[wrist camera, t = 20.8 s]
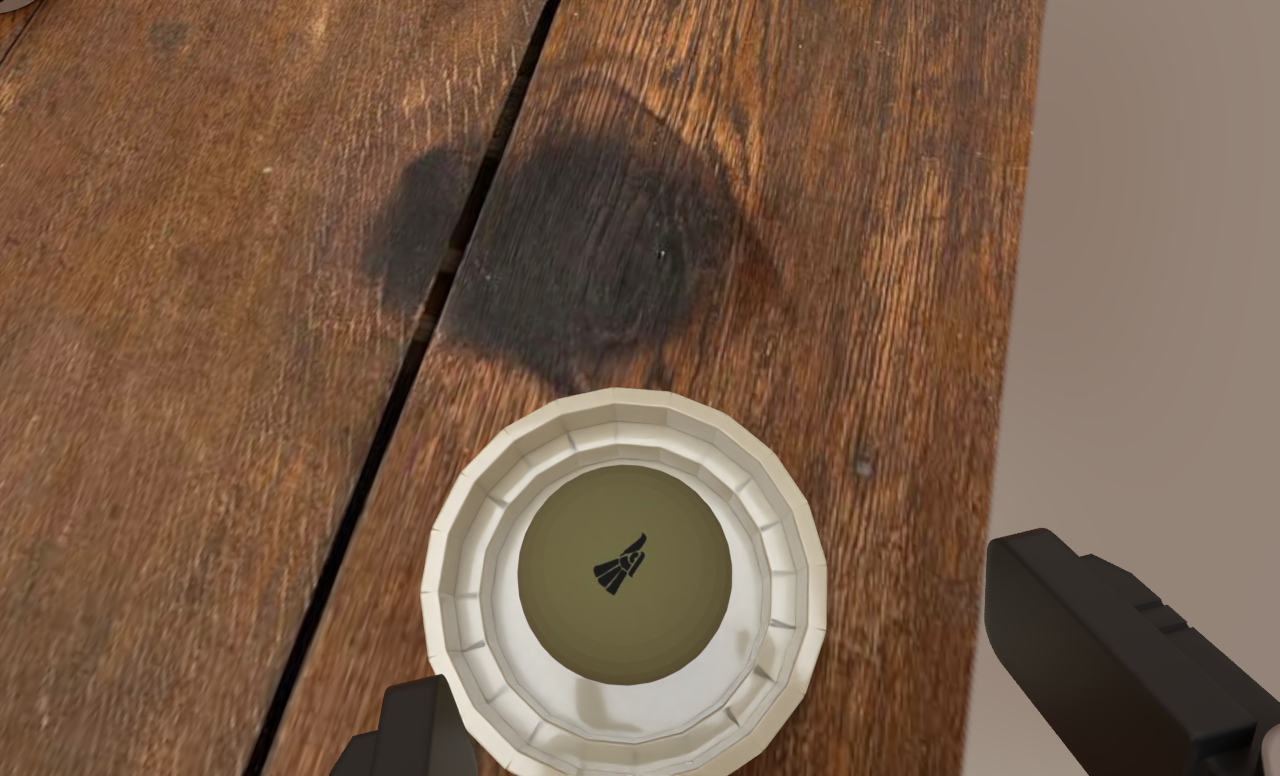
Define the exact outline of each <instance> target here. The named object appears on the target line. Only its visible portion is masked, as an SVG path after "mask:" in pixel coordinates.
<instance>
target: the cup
mask: <svg viewBox="0 0 1280 776" xmlns="http://www.w3.org/2000/svg"><path fill="white" fill-rule="evenodd" d="M33 1H34V0H0V13H4V12H9V11H13V10H16V9H19V8H21V7H23V6H26V5H28V4H29V3H31V2H33Z"/></svg>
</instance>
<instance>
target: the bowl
mask: <svg viewBox="0 0 1280 776" xmlns="http://www.w3.org/2000/svg"><path fill="white" fill-rule="evenodd" d="M614 465H638V466H645V467H649V468H653V469H656V470H660V471H663V472H665V473H667V474H669V475H671V476H673V477H676V478H678V479H680V480H681V481H682V482H684V483H685V484H686V485H688V486H689V487H690V488H692V489H693V490H695V491H696V492H697V493H698V494H699V495H700V496H701V498H702V499H703V500H704V501H705V502H706V503H707V504H708V505H709V506H710V508H711V509H712V511H713V513H714V514H715V516H716V517H717V519H718V521H719V522H720V524H721V526H722V529H723V532H724V534H725V537H726V539H727V542H728V545H729V550H730V556H731V561H732V590H731V595H730V600H729V604H728V608H727V612H726V614H725V616H724V618H723V621H722V623H721V625H720V627H719V629H718V631H717V632H716V634H715V635H714V637H713V638H712V640H711V641H710V642H709V644H708V645H707V647H706V648H705V649H704V650H703V651H702V652H701V654H700V655H699V656H698V657H697V658H695V659H694V660H693V661H691V662H690V663H689V664H687V665H686V666H685V667H684V668H682V669H681V670H679V671H677V672H675V673H673V674H672V675H670V676H668V677H666V678H663V679H660V680H657V681H654V682H651V683H645V684H638V685H631V686H623V685H607V684H603V683H600V682H596V681H593V680H589V679H586V678H584V677H582V676H580V675H578V674H576V673H574V672H572V671H570V670H569V669H567V668H565V667H564V666H563V665H561V664H560V663H559V662H557V661H556V660H555V659H554V658H552V657H551V655H550V654H549V653H548V652H547V651H546V650H545V649H544V648H543V647H542V646H541V644H540V643H539V641H538V640H537V638H536V637H535V635H534V634H533V632H532V630H531V629H530V627H529V625H528V622H527V620H526V618H525V615H524V613H523V609H522V605H521V602H520V598H519V590H518V578H517V570H518V561H519V552H520V549H521V545H522V542H523V539H524V536H525V533H526V531H527V529H528V527H529V525H530V523H531V521H532V519H533V517H534V516H535V514H536V512H537V511H538V510H539V509H540V507H541V506H542V505H543V504H544V502H545V501H546V500H547V499H548V497H549V496H551V495H552V494H553V493H554V492H555V491H556V490H558V489H559V488H560V487H561V486H562V485H564V484H565V483H567V482H568V481H570V480H572V479H574V478H575V477H577V476H579V475H581V474H583V473H586V472H589V471H592V470H594V469H597V468H600V467H606V466H614ZM432 529H433V530H431V533H430V538H429V544H428V549H427V555H426V561H425V566H424V572H423V577H422V583H421V588H420V592H421V594H420V600H421V607H422V615H423V623H424V631H425V638H426V646H427V654H428V658H429V663H430V665H431V667H432V669H433V671H434V673H435V675H439V674H443V675H444V676H445V677H446V679H447V681H448V683H449V686H450V688H451V691H452V694H453V696H454V699H455V702H456V704H457V707H458V710H459V712H460V715H461V718H462V720H463V723H464V726H465V728H466V730H467V731H468V732H469V733H470V734H471V735H472V736H473V737H474V738H475V739H476V740H477V742H478V743H479V744H480V745H481V746H482V747H483V748H484V749H485V750H486V751H487V752H488V753H489V754H490V755H491V756H492V757H493V758H494V759H495V760H496V761H497V762H498V763H499V764H500V765H501V766H502V767H503V768H504V769H507V771H509V772H511V773H513V774H515V775H517V776H728V775H730V774H731V773H732V772H734V771H735V770H737V769H738V768H740V767H741V766H743V765H744V764H746V763H747V762H749V761H750V760H752V759H753V758H755V757H756V756H758V755H759V754H761V753H762V752H763V750H765V749H766V747H767V746H768V745H769V743H770V742H771V741H772V739H773V738H774V737H775V735H776V734H777V733H778V731H779V730H780V729H781V727H782V726H783V725H784V723H785V722H786V721H787V719H788V718H789V717H790V715H791V714H792V713H793V711H794V710H795V709H796V707H797V706H798V705H799V703H800V702H801V701H802V699H803V698H804V695H805V694H806V692H807V689H808V686H809V683H810V680H811V677H812V674H813V671H814V668H815V665H816V662H817V659H818V656H819V653H820V650H821V647H822V644H823V641H824V638H825V635H826V632H825V631H826V629H827V566H826V564H827V562H826V559H825V556H824V552H823V549H822V546H821V542H820V539H819V536H818V533H817V529H816V526H815V523H814V519H813V516H812V513H811V509H810V506H809V505H808V501H807V500H806V499H805V497H804V496H803V494H802V493H801V491H800V490H799V488H798V487H797V485H796V484H795V482H794V481H793V479H792V478H791V476H790V475H789V473H788V472H787V470H786V469H785V467H784V466H783V464H782V463H781V461H780V460H779V459H778V457H777V456H776V454H775V453H773V451H772V450H771V449H770V448H768V447H767V446H766V445H765V444H763V443H762V442H761V441H760V440H758V439H757V438H756V437H755V436H754V435H752V434H751V433H750V432H749V431H747V430H746V429H745V428H744V427H742V426H741V425H740V424H739V423H737V422H736V421H735V420H734V419H732V418H731V417H730V416H729V415H726V414H725V413H723V412H721V411H718V410H716V409H713V408H711V407H708V406H706V405H703V404H701V403H698V402H696V401H693V400H691V399H688V398H686V397H683V396H681V395H678V394H676V393H671V392H667V391H655V390H643V389H631V388H619V387H614V388H606V389H602V390H597V391H592V392H588V393H583V394H579V395H574V396H569V397H565V398H560V399H557V400H556V401H555V400H554V401H552V402H550V403H548V404H546V405H545V406H543V407H541V408H539V409H537V410H536V411H534V412H532V413H530V414H528V415H527V416H525V417H523V418H521V419H519V420H518V421H516V422H514V423H512V424H510V425H509V426H507V427H505V428H504V430H501V431H500V432H499V433H498V434H497V435H496V436H495V437H494V438H493V439H492V440H491V441H490V442H489V444H488V445H487V446H486V447H485V448H484V449H483V450H482V451H481V452H480V453H479V454H478V455H477V456H476V457H475V458H474V459H473V460H472V461H471V462H470V463H469V464H468V465H467V466H466V467H465V468H464V469H463V470H462V472H461V474H460V475H459V476H458V478H457V480H456V482H455V484H454V486H453V488H452V490H451V492H450V493H449V495H448V497H447V499H446V501H445V503H444V505H443V507H442V509H441V511H440V513H439V515H438V517H437V519H436V521H435V523H434V525H433V526H432Z"/></svg>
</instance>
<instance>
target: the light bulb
mask: <svg viewBox="0 0 1280 776" xmlns="http://www.w3.org/2000/svg"><path fill="white" fill-rule="evenodd" d="M517 578H518V590H519V598H520V602H521V605H522V609H523V613H524V615H525V618H526V620H527V622H528V625H529V627H530V629H531V630H532V632H533V634H534V635H535V637H536V638H537V640H538V641H539V643H540V644H541V646H542V647H543V648H544V649H545V650H546V651H547V652H548V653H549V654H550V655H551V657H552V658H554V659H555V660H556V661H557V662H559V663H560V664H561V665H563V666H564V667H565V668H567V669H569V670H570V671H572V672H574V673H576V674H578V675H580V676H582V677H584V678H586V679H589V680H593V681H596V682H600V683H603V684H607V685H623V686H631V685H638V684H645V683H651V682H654V681H657V680H660V679H663V678H666V677H668V676H670V675H672V674H673V673H675V672H677V671H679V670H681V669H682V668H684V667H685V666H686V665H687V664H689V663H690V662H691V661H693V660H694V659H695V658H697V657H698V656H699V655H700V654H701V652H702V651H703V650H704V649H705V648H706V647H707V645H708V644H709V642H710V641H711V640H712V638H713V637H714V635H715V634H716V632H717V631H718V629H719V627H720V625H721V623H722V621H723V618H724V616H725V614H726V612H727V608H728V604H729V600H730V595H731V590H732V561H731V556H730V550H729V545H728V542H727V539H726V537H725V534H724V532H723V529H722V526H721V524H720V522H719V521H718V519H717V517H716V516H715V514H714V513H713V511H712V509H711V508H710V506H709V505H708V504H707V503H706V502H705V501H704V500H703V499H702V498H701V496H700V495H699V494H698V493H697V492H696V491H695V490H693V489H692V488H690V487H689V486H688V485H686V484H685V483H684V482H682V481H681V480H680V479H678V478H676V477H673V476H671V475H669V474H667V473H665V472H663V471H660V470H656V469H653V468H649V467H645V466H638V465H614V466H606V467H600V468H597V469H594V470H592V471H589V472H586V473H583V474H581V475H579V476H577V477H575V478H574V479H572V480H570V481H568V482H567V483H565V484H564V485H562V486H561V487H560V488H559V489H558V490H556V491H555V492H554V493H553V494H552V495H551V496H549V497H548V499H547V500H546V501H545V502H544V504H543V505H542V506H541V507H540V509H539V510H538V511H537V512H536V514H535V516H534V517H533V519H532V521H531V523H530V525H529V527H528V529H527V531H526V533H525V536H524V539H523V542H522V545H521V549H520V552H519V561H518V570H517Z"/></svg>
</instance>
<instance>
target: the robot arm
mask: <svg viewBox="0 0 1280 776" xmlns="http://www.w3.org/2000/svg"><path fill="white" fill-rule="evenodd" d="M984 620H985V627H986V631H987V635H988V638H989V641H990V644H991V646H992V648H993V650H994V652H995V654H996V656H997V657H998V659H999V660H1000V662H1001V663H1002V665H1003V666H1004V667H1005V668H1006V670H1007V671H1008V672H1009V674H1010V675H1011V676H1012V677H1013V679H1014V680H1015V681H1016V683H1017V684H1018V685H1019V686H1020V687H1021V689H1022V690H1023V691H1024V693H1025V694H1026V695H1027V697H1028V698H1029V699H1030V700H1031V702H1032V703H1033V704H1034V706H1035V707H1036V708H1037V709H1038V711H1039V712H1040V713H1041V715H1042V716H1043V717H1044V718H1045V720H1046V721H1047V722H1048V724H1049V725H1050V726H1051V727H1052V729H1053V730H1054V731H1055V732H1056V734H1057V735H1058V736H1059V737H1060V739H1061V740H1062V742H1063V743H1064V744H1065V745H1066V747H1067V748H1068V749H1069V750H1070V752H1071V753H1072V754H1073V756H1074V757H1075V758H1076V759H1077V761H1078V762H1079V763H1080V764H1081V765H1082V767H1083V768H1084V770H1085V771H1086V772H1087V774H1088V775H1089V776H1280V702H1278V701H1277V700H1276V699H1275V698H1274V697H1273V696H1272V695H1270V694H1269V693H1268V692H1267V691H1266V690H1265V689H1264V688H1262V687H1261V686H1260V685H1259V684H1258V683H1257V682H1255V681H1254V680H1253V679H1252V678H1251V677H1250V676H1249V675H1247V674H1246V673H1245V672H1244V671H1243V670H1242V669H1241V668H1239V667H1238V666H1237V665H1236V664H1235V663H1234V662H1233V661H1231V660H1230V659H1229V658H1228V657H1227V656H1226V655H1225V654H1223V653H1222V652H1221V651H1220V650H1219V649H1218V648H1216V647H1215V646H1214V645H1213V644H1212V643H1210V641H1208V640H1207V639H1206V638H1205V637H1204V636H1203V635H1202V634H1200V633H1199V632H1198V631H1197V630H1196V629H1195V628H1194V627H1192V628H1189V627H1188V625H1187V621H1185V620H1184V619H1183V618H1182V617H1181V616H1180V615H1179V614H1177V613H1176V612H1175V611H1174V610H1173V609H1172V608H1170V607H1169V606H1168V605H1165V606H1164V605H1163V603H1162V601H1161V599H1160V598H1159V597H1158V596H1157V595H1156V594H1155V593H1153V592H1152V591H1151V590H1150V589H1149V588H1148V587H1146V586H1145V585H1144V584H1143V583H1142V582H1141V581H1140V580H1138V579H1137V578H1136V577H1135V576H1134V575H1133V574H1132V573H1130V572H1128V571H1126V570H1124V569H1122V568H1120V567H1118V566H1115V565H1113V564H1111V563H1109V562H1107V561H1105V560H1103V559H1101V558H1099V557H1097V556H1095V555H1093V554H1089V555H1085V556H1081V557H1079V556H1078V555H1077V554H1076V553H1075V552H1073V551H1072V550H1071V549H1070V548H1069V547H1068V546H1067V545H1066V544H1065V543H1064V542H1063V541H1062V540H1061V539H1059V538H1058V537H1057V536H1056V535H1055V534H1054V533H1052V532H1051V531H1050V530H1048V529H1045V528H1038V529H1034V530H1030V531H1025V532H1022V533H1017V534H1013V535H1009V536H1005V537H1000V538H997V539H993V540H991V541H990V543H989V544H988V548H987V562H986V588H985V613H984ZM329 776H478V770H477V764H476V759H475V754H474V750H473V747H472V744H471V742H470V739H469V736H468V734H467V731H466V728H465V726H464V723H463V720H462V718H461V715H460V712H459V710H458V707H457V704H456V702H455V699H454V696H453V694H452V691H451V688H450V686H449V683H448V681H447V679H446V677H445V676H444V675H443V674H439V675H434V676H430V677H426V678H422V679H418V680H414V681H409V682H405V683H401V684H397V685H393V686H389V687H388V688H387V689H386V691H385V694H384V698H383V703H382V709H381V714H380V720H379V725H378V730H376V731H372V732H368V733H364V734H360V735H356V736H353V737H352V739H351V740H350V742H349V743H348V745H347V747H346V748H345V750H344V751H343V753H342V754H341V756H340V758H339V759H338V761H337V762H336V764H335V766H334V767H333V769H332V770H331V772H330V774H329Z"/></svg>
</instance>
